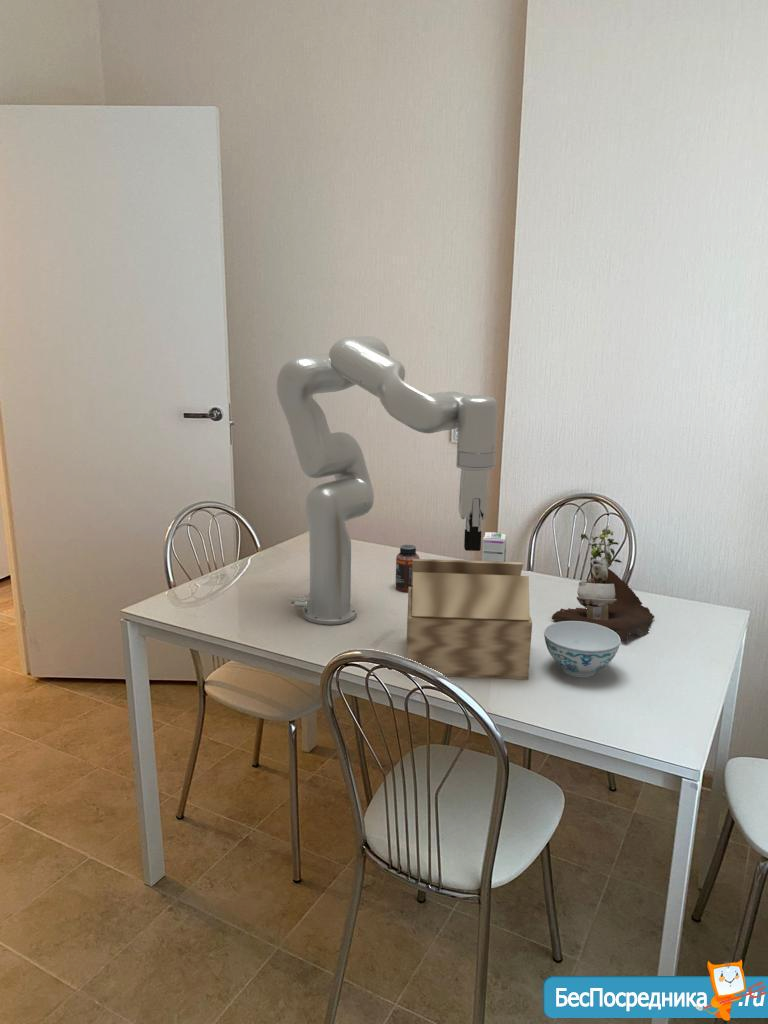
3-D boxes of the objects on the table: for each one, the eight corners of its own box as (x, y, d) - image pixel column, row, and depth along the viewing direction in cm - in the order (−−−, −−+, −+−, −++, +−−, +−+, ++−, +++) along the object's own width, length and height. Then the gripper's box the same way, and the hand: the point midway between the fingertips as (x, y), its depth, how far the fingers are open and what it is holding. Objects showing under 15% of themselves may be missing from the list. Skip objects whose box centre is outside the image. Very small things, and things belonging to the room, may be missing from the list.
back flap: (412, 560, 171) (412, 558, 172) (411, 585, 178) (411, 583, 178) (522, 564, 171) (522, 562, 171) (517, 588, 178) (517, 587, 178)
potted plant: (548, 633, 192) (553, 526, 194) (585, 630, 207) (589, 531, 208) (630, 643, 180) (635, 528, 181) (663, 639, 194) (667, 533, 196)
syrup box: (502, 593, 210) (506, 539, 207) (479, 591, 212) (482, 537, 208) (504, 586, 216) (507, 533, 212) (481, 584, 217) (484, 531, 213)
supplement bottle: (422, 587, 213) (424, 545, 210) (411, 594, 208) (412, 551, 205) (402, 583, 216) (404, 541, 213) (390, 589, 211) (392, 547, 208)
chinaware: (570, 692, 158) (573, 655, 156) (527, 661, 172) (529, 626, 170) (632, 680, 164) (636, 644, 162) (586, 650, 178) (589, 617, 176)
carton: (406, 674, 164) (408, 618, 161) (406, 638, 181) (408, 586, 178) (527, 679, 163) (532, 622, 160) (516, 642, 181) (520, 590, 178)
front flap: (411, 616, 161) (411, 615, 160) (412, 572, 164) (413, 572, 163) (529, 620, 160) (529, 619, 160) (528, 576, 163) (528, 576, 163)
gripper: (454, 452, 169) (451, 539, 173) (458, 466, 154) (455, 560, 159) (491, 453, 169) (487, 539, 173) (499, 467, 154) (494, 561, 159)
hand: (472, 549), depth 166 cm, fingers closed
